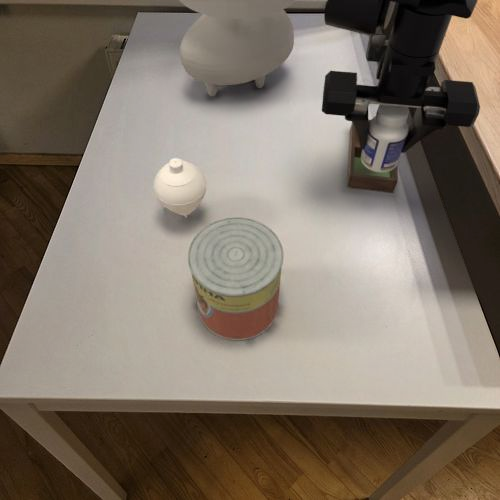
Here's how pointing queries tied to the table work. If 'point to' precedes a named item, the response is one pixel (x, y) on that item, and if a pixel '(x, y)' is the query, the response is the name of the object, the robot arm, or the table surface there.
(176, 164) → the spinning top
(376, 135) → the pill bottle
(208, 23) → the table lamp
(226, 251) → the canned food
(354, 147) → the holder
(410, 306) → the table surface
